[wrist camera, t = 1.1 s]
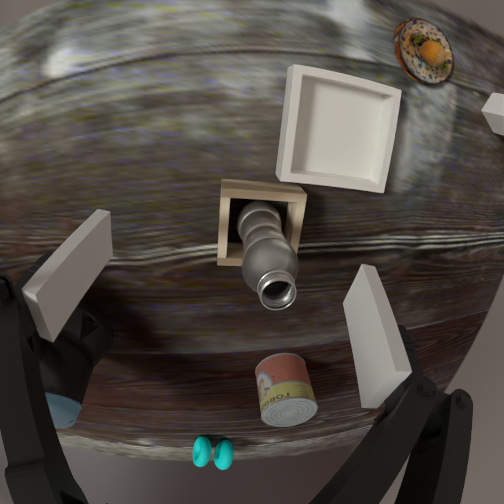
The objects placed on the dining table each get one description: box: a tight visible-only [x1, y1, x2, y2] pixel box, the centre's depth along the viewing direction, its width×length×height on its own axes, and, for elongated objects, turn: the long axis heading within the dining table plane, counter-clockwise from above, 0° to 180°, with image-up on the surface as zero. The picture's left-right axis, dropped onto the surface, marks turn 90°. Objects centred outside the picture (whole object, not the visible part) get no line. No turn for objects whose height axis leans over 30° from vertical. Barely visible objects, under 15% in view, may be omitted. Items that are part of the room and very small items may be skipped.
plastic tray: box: [276, 64, 401, 193], centre depth 39 cm, size 16×16×4 cm
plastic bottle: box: [237, 200, 299, 310], centre depth 38 cm, size 6×7×20 cm
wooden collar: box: [217, 179, 307, 266], centre depth 44 cm, size 11×11×5 cm
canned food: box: [255, 353, 318, 427], centre depth 58 cm, size 11×11×12 cm
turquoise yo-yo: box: [193, 436, 233, 470], centre depth 74 cm, size 10×10×10 cm
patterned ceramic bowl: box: [394, 18, 453, 85], centre depth 32 cm, size 12×12×8 cm
